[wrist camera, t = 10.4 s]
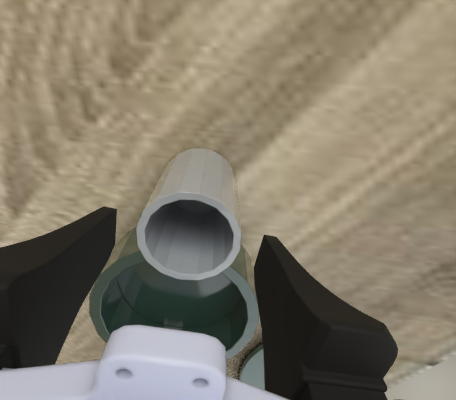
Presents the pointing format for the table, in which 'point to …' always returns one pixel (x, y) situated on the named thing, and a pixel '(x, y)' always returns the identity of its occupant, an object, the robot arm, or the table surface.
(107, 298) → the pot
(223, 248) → the gray cylindrical cup
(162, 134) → the table surface
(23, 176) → the table surface
